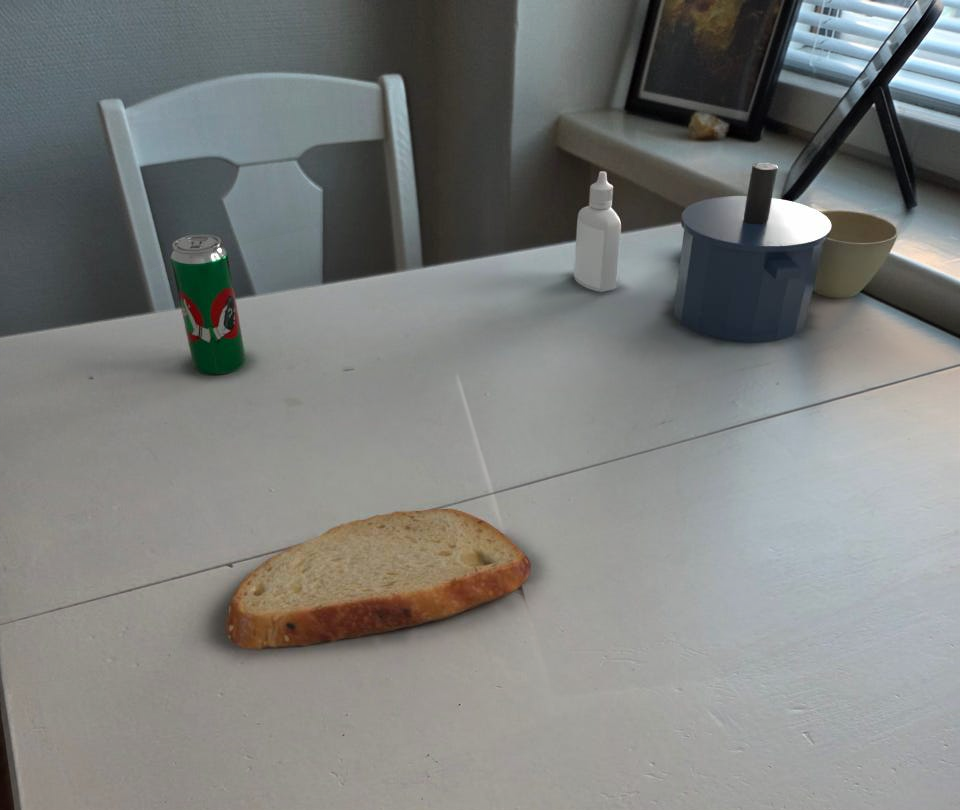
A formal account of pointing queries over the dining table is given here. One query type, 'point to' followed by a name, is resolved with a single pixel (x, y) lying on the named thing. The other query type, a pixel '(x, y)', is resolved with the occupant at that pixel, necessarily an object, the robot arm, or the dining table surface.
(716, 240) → the lid
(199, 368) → the soda can
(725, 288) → the pot
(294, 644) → the bread slice
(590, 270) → the eye dropper bottle
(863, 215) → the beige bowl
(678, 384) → the dining table surface
